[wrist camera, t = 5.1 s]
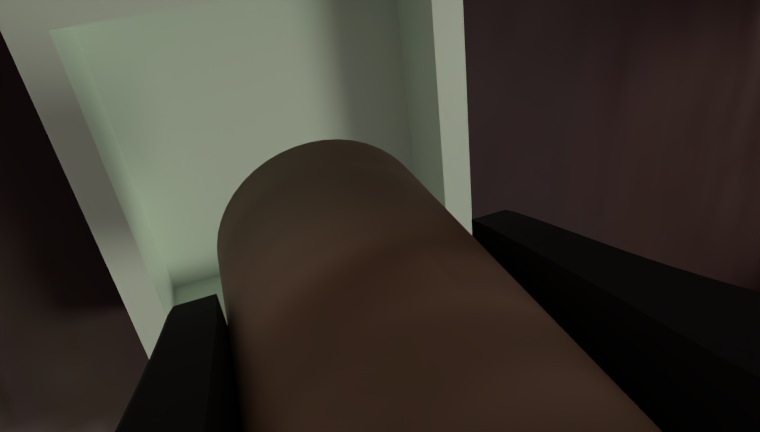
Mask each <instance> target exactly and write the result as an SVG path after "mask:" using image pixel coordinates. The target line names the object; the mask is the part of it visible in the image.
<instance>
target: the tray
mask: <svg viewBox="0 0 760 432" xmlns="http://www.w3.org/2000/svg"><path fill="white" fill-rule="evenodd" d="M0 31H1V33H2V35H3V38H4V40H5V42H6V44H7V46H8V49H9V51H10V53H11V55H12V57H13V60H14V62H15V64H16V66H17V69H18V71H19V73H20V75H21V77H22V80H23V82H24V84H25V86H26V88H27V91H28V93H29V95H30V97H31V99H32V102H33V104H34V106H35V108H36V110H37V113H38V115H39V117H40V119H41V121H42V124H43V126H44V128H45V130H46V133H47V135H48V137H49V139H50V141H51V144H52V146H53V148H54V150H55V152H56V155H57V157H58V159H59V161H60V163H61V166H62V168H63V170H64V172H65V174H66V177H67V179H68V181H69V183H70V185H71V188H72V190H73V192H74V194H75V197H76V199H77V201H78V203H79V205H80V208H81V210H82V212H83V214H84V216H85V219H86V221H87V223H88V225H89V227H90V230H91V232H92V234H93V236H94V238H95V241H96V243H97V245H98V247H99V249H100V252H101V254H102V256H103V258H104V261H105V263H106V265H107V267H108V269H109V272H110V274H111V276H112V278H113V280H114V283H115V285H116V287H117V289H118V291H119V294H120V296H121V298H122V300H123V302H124V305H125V307H126V309H127V311H128V313H129V316H130V318H131V320H132V322H133V325H134V327H135V329H136V331H137V333H138V336H139V338H140V340H141V342H142V344H143V347H144V349H145V351H146V353H147V355H148V358H149V359H150V357H151V354H152V352H153V350H154V347H155V345H156V343H157V340H158V338H159V335H160V333H161V330H162V328H163V325H164V323H165V320H166V318H167V315H168V314H169V312H170V311H171V309H172V308H173V306H176V305H179V304H182V303H186V302H189V301H193V300H196V299H200V298H203V297H207V296H210V295H213V294H217V296H218V299H219V302H220V305H221V308H222V311H223V314H224V317H225V320H226V323H227V319H226V312H225V305H224V299H223V292H222V285H221V278H220V271H219V264H218V256H217V238H218V231H219V226H220V222H221V219H222V216H223V214H224V211H225V209H226V206H227V205H228V203H229V201H230V199H231V198H232V196H233V194H234V193H235V191H236V190H237V189H238V187H239V186H240V185H241V184H242V182H243V181H244V180H245V179H246V178H247V177H248V176H249V175H250V174H251V173H252V172H253V171H254V170H255V169H257V168H258V167H259V166H261V165H262V164H263V163H264V162H266V161H267V160H269V159H271V158H272V157H274V156H276V155H277V154H279V153H281V152H283V151H286V150H288V149H290V148H293V147H295V146H298V145H302V144H305V143H308V142H314V141H320V140H331V139H342V140H353V141H358V142H362V143H367V144H369V145H372V146H375V147H377V148H380V149H382V150H384V151H385V152H387V153H389V154H391V155H392V156H393V157H395V158H396V159H397V160H399V161H400V162H401V163H402V164H403V165H404V166H405V167H406V168H407V169H408V170H409V171H410V172H411V173H412V174H413V175H414V176H415V177H416V178H417V179H418V180H419V181H420V182H421V183H422V184H423V185H424V187H425V188H426V189H427V190H428V191H429V192H430V193H431V194H432V195H433V196H434V197H435V198H436V199H437V200H438V201H439V202H440V203H441V204H442V205H443V206H444V207H445V208H446V209H447V210H448V211H449V212H450V213H451V214H452V215H453V216H454V217H455V218H456V219H457V221H458V222H459V223H460V224H461V225H462V226H463V227H464V228H465V229H466V230H467V231H468V232H469V233H470V234H471V235H472V211H471V187H470V162H469V138H468V114H467V89H466V65H465V40H464V16H463V0H0Z"/></svg>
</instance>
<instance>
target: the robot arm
mask: <svg viewBox="0 0 760 432" xmlns="http://www.w3.org/2000/svg"><path fill="white" fill-rule="evenodd" d="M472 236H473V237H474V238H475V239H476V240H477V241H478V242H479V243H480V244H481V245H482V246H483V247H484V248H485V249H486V250H487V251H488V252H489V253H490V255H491V256H492V257H493V258H494V259H495V260H496V261H497V262H498V263H499V264H500V265H501V266H502V267H503V268H504V269H505V270H506V271H507V272H508V273H509V274H510V275H511V276H512V277H513V278H514V279H515V280H516V281H517V282H518V283H519V284H520V285H521V286H522V287H523V289H524V290H525V291H526V292H527V293H528V294H529V295H530V296H531V297H532V298H533V299H534V300H535V301H536V302H537V303H538V304H539V305H540V306H541V307H542V308H543V309H544V310H545V311H546V312H547V313H548V314H549V315H550V316H551V317H552V318H553V319H554V320H555V321H556V323H557V324H558V325H559V326H560V327H561V328H562V329H563V330H564V331H565V332H566V333H567V334H568V335H569V336H570V337H571V338H572V339H573V340H574V341H575V342H576V343H577V344H578V345H579V346H580V347H581V348H582V349H583V350H584V351H585V352H586V353H587V354H588V356H589V357H590V358H591V359H592V360H593V361H594V362H595V363H596V364H597V365H598V366H599V367H600V368H601V369H602V370H603V371H604V372H605V373H606V374H607V375H608V376H609V377H610V378H611V379H612V380H613V381H614V382H615V383H616V384H617V385H618V386H619V387H620V388H621V390H622V391H623V392H624V393H625V394H626V395H627V396H628V397H629V398H630V399H631V400H632V401H633V402H634V403H635V404H636V405H637V406H638V407H639V408H640V409H641V410H642V411H643V412H644V413H645V414H646V415H647V416H648V417H649V418H650V419H651V420H652V421H653V422H654V424H655V425H656V426H657V427H658V428H659V429H660V430H661V431H662V432H760V292H758V291H754V290H750V289H747V288H743V287H739V286H735V285H732V284H728V283H725V282H721V281H718V280H714V279H711V278H708V277H704V276H701V275H698V274H695V273H691V272H688V271H685V270H681V269H678V268H675V267H671V266H668V265H665V264H662V263H659V262H656V261H653V260H650V259H647V258H644V257H641V256H638V255H635V254H632V253H629V252H627V251H624V250H621V249H618V248H615V247H612V246H610V245H607V244H604V243H601V242H598V241H596V240H593V239H590V238H587V237H584V236H582V235H579V234H576V233H574V232H571V231H568V230H565V229H563V228H560V227H557V226H554V225H551V224H549V223H546V222H543V221H540V220H537V219H534V218H531V217H528V216H525V215H522V214H519V213H516V212H512V211H508V210H503V211H500V212H496V213H493V214H489V215H486V216H482V217H479V218H475V219H472ZM115 432H243V429H242V422H241V415H240V408H239V401H238V394H237V388H236V380H235V372H234V365H233V358H232V351H231V345H230V338H229V331H228V326H227V323H226V320H225V317H224V314H223V311H222V308H221V305H220V302H219V299H218V296H217V294H213V295H210V296H207V297H203V298H200V299H196V300H193V301H189V302H186V303H182V304H179V305H176V306H173V308H172V309H171V311H170V312H169V314H168V315H167V318H166V320H165V323H164V325H163V328H162V330H161V333H160V335H159V338H158V340H157V343H156V345H155V347H154V350H153V352H152V354H151V357H150V359H149V361H148V363H147V366H146V368H145V370H144V372H143V375H142V377H141V379H140V381H139V383H138V386H137V388H136V390H135V392H134V394H133V396H132V398H131V400H130V402H129V404H128V406H127V408H126V410H125V412H124V414H123V416H122V419H121V421H120V423H119V425H118V427H117V429H116V431H115Z"/></svg>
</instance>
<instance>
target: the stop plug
mask: <svg viewBox="0 0 760 432" xmlns="http://www.w3.org/2000/svg"><path fill="white" fill-rule="evenodd" d="M217 256H218V264H219V271H220V278H221V285H222V292H223V299H224V305H225V312H226V319H227V326H228V331H229V338H230V345H231V351H232V358H233V365H234V372H235V380H236V388H237V394H238V401H239V408H240V415H241V422H242V429H243V432H662V431H661V430H660V429H659V428H658V427H657V426H656V425H655V424H654V422H653V421H652V420H651V419H650V418H649V417H648V416H647V415H646V414H645V413H644V412H643V411H642V410H641V409H640V408H639V407H638V406H637V405H636V404H635V403H634V402H633V401H632V400H631V399H630V398H629V397H628V396H627V395H626V394H625V393H624V392H623V391H622V390H621V388H620V387H619V386H618V385H617V384H616V383H615V382H614V381H613V380H612V379H611V378H610V377H609V376H608V375H607V374H606V373H605V372H604V371H603V370H602V369H601V368H600V367H599V366H598V365H597V364H596V363H595V362H594V361H593V360H592V359H591V358H590V357H589V356H588V354H587V353H586V352H585V351H584V350H583V349H582V348H581V347H580V346H579V345H578V344H577V343H576V342H575V341H574V340H573V339H572V338H571V337H570V336H569V335H568V334H567V333H566V332H565V331H564V330H563V329H562V328H561V327H560V326H559V325H558V324H557V323H556V321H555V320H554V319H553V318H552V317H551V316H550V315H549V314H548V313H547V312H546V311H545V310H544V309H543V308H542V307H541V306H540V305H539V304H538V303H537V302H536V301H535V300H534V299H533V298H532V297H531V296H530V295H529V294H528V293H527V292H526V291H525V290H524V289H523V287H522V286H521V285H520V284H519V283H518V282H517V281H516V280H515V279H514V278H513V277H512V276H511V275H510V274H509V273H508V272H507V271H506V270H505V269H504V268H503V267H502V266H501V265H500V264H499V263H498V262H497V261H496V260H495V259H494V258H493V257H492V256H491V255H490V253H489V252H488V251H487V250H486V249H485V248H484V247H483V246H482V245H481V244H480V243H479V242H478V241H477V240H476V239H475V238H474V237H473V236H472V235H471V234H470V233H469V232H468V231H467V230H466V229H465V228H464V227H463V226H462V225H461V224H460V223H459V222H458V221H457V219H456V218H455V217H454V216H453V215H452V214H451V213H450V212H449V211H448V210H447V209H446V208H445V207H444V206H443V205H442V204H441V203H440V202H439V201H438V200H437V199H436V198H435V197H434V196H433V195H432V194H431V193H430V192H429V191H428V190H427V189H426V188H425V187H424V185H423V184H422V183H421V182H420V181H419V180H418V179H417V178H416V177H415V176H414V175H413V174H412V173H411V172H410V171H409V170H408V169H407V168H406V167H405V166H404V165H403V164H402V163H401V162H400V161H399V160H397V159H396V158H395V157H393V156H392V155H391V154H389V153H387V152H385V151H384V150H382V149H380V148H377V147H375V146H372V145H369V144H367V143H362V142H358V141H353V140H342V139H331V140H320V141H314V142H308V143H305V144H302V145H298V146H295V147H293V148H290V149H288V150H286V151H283V152H281V153H279V154H277V155H276V156H274V157H272V158H271V159H269V160H267V161H266V162H264V163H263V164H262V165H261V166H259V167H258V168H257V169H255V170H254V171H253V172H252V173H251V174H250V175H249V176H248V177H247V178H246V179H245V180H244V181H243V182H242V184H241V185H240V186H239V187H238V189H237V190H236V191H235V193H234V194H233V196H232V198H231V199H230V201H229V203H228V205H227V206H226V209H225V211H224V214H223V216H222V219H221V222H220V226H219V231H218V238H217Z"/></svg>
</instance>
